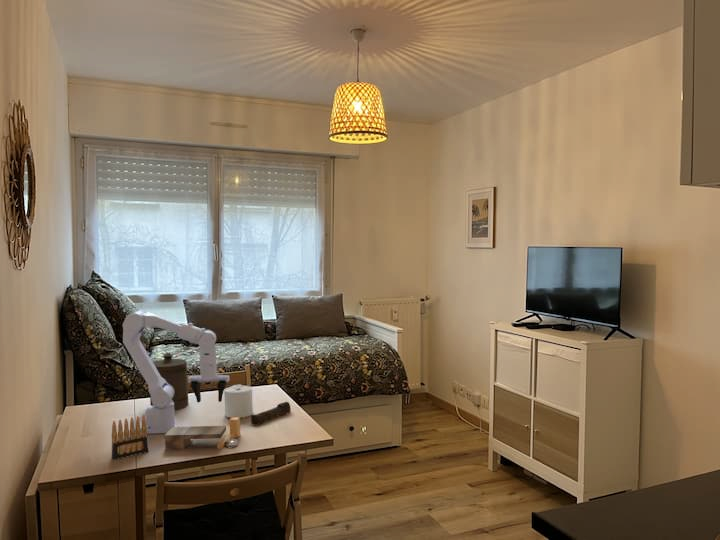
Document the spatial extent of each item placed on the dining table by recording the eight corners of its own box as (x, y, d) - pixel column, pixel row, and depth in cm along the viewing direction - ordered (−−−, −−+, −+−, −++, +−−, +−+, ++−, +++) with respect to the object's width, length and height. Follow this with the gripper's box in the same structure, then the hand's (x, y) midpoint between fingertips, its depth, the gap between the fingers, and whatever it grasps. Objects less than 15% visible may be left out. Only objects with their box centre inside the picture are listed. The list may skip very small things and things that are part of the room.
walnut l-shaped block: (165, 450, 179) (164, 435, 178) (173, 441, 187) (172, 427, 186) (220, 449, 179) (220, 433, 179) (226, 440, 187) (226, 425, 187)
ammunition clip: (147, 450, 179) (145, 413, 179) (148, 452, 178) (147, 415, 177) (111, 458, 173) (110, 420, 173) (112, 459, 172) (111, 421, 171)
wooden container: (180, 398, 239) (178, 348, 238) (194, 406, 227) (192, 353, 226) (145, 405, 229) (143, 353, 228) (158, 413, 218) (155, 358, 217)
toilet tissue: (232, 420, 208) (231, 394, 207) (218, 413, 217) (218, 388, 217) (257, 414, 215) (257, 389, 214) (243, 407, 224) (242, 383, 223)
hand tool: (257, 426, 201) (257, 414, 201) (250, 424, 203) (250, 412, 203) (295, 413, 215) (295, 402, 215) (288, 411, 218) (287, 400, 218)
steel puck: (223, 447, 181) (223, 443, 180) (228, 443, 185) (228, 438, 184) (235, 448, 180) (234, 443, 180) (239, 444, 184) (239, 439, 184)
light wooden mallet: (215, 448, 180) (215, 430, 180) (233, 434, 193) (232, 417, 193) (223, 448, 179) (222, 430, 179) (240, 434, 192) (239, 417, 192)
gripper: (230, 361, 204) (232, 397, 204) (191, 362, 204) (192, 398, 204) (226, 365, 197) (227, 403, 197) (185, 366, 196) (187, 404, 197)
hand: (209, 401), depth 200 cm, fingers open, 7 cm apart
